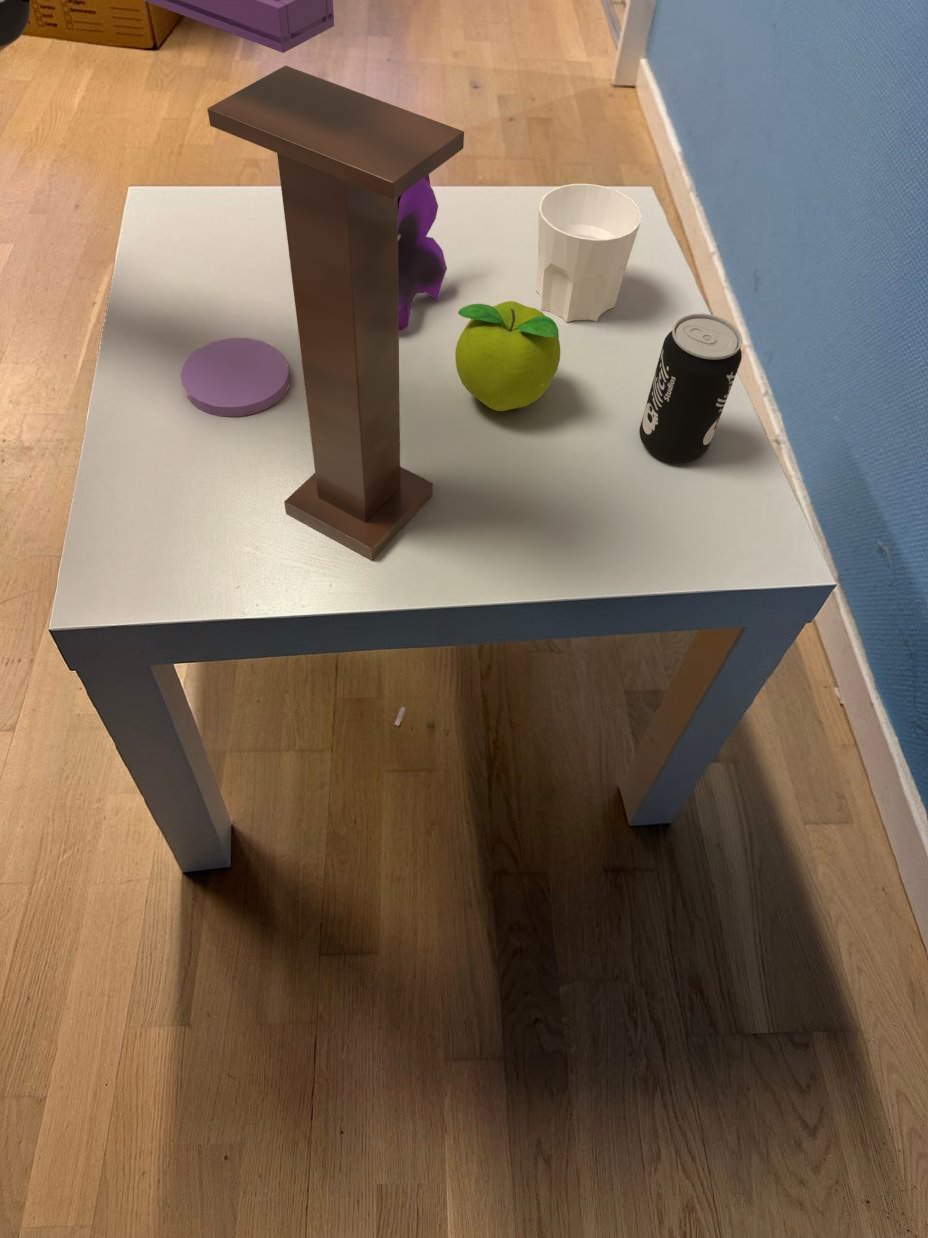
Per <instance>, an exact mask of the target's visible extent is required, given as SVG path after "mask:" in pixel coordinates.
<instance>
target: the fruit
mask: <svg viewBox="0 0 928 1238" xmlns="http://www.w3.org/2000/svg"><path fill="white" fill-rule="evenodd" d="M457 314H458V315H459V316H460V317H463V318H466V319H469V321H468V322H467V324H466V325H465V327H464V329H463V330H462V331H461V333H460V335H459V338H458V340H457V342H456V346H455V352H454V353H455V354H454V355H455V358H454V359H455V367H456V372H457V374H458V377H459V379H460V382H461V383H462V385H463V387H464V388H465V389H466V390H467V392H468V393H469V394H471V395H472V396H473V397H474V398H476V399H477V401H479V402H481V403H482V404H483V405H485V406H486V407H488V408H489V409H490V410H491V409H492V410H493V411H497V412H504V411H509V410H513V409H521V408H525V407H527V406H529V405H531V404H533V403H534V402H536V401H537V400H538V399H540V398H541V397H542V396H543V394H544V393H545V392H546V391H547V389H548V388H549V386H550V384H552V381H553V379H554V377H555V375H556V373H557V371H558V368H559V365H560V360H561V343H560V339H559V338H560V337H559V335H560V333H559V327H558V325H557V323H556V322H555V321H554V320H553V318H551V317H549V316H547V315H545V314H544V313H543V312H542V310H539V309H538V308H535V307H530V306H528V305H524V304H522V303H520V302H517V301H513V300H508V301H504V302H501V303H498V304H496V305H493V306H492V305H490V304H484V303H471V304H468V305H465V306H463V307H461V308H460V309H459V310H458V311H457Z"/></svg>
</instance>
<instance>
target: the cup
mask: <svg viewBox="0 0 928 1238" xmlns="http://www.w3.org/2000/svg"><path fill="white" fill-rule="evenodd" d="M641 212H642V211H641V210H640V207H639V206H638V205H637V203H636V202H635V201H634V200H633V199H632V198H631V197H629V196H628V195H626V194H625V193H623V192H621V191H618V190H616V189H614V188H612V187H607V186H603V185H599V184H593V183H592V184H591V183H571V184H565V185H561V186H558V187H556V188H553V189H551V190H550V191H548V192H547V193H545V194H544V195H543V196H542V197H541V199H540V201H539V205H538V230H537V232H538V235H537V236H538V238H537V239H538V240H537V248H538V249H537V251H538V252H537V263H536V264H537V267H536V284H535V285H536V286H535V292H536V293H537V294H538V295H539V296H540V298H541V306H540V311H546V312H549V313H552V314H554V315H556V316H557V317H560V318H562V320H564V322H565V323H570V322H572V321H592V322H598V321H599V317H600V316H602V314H604V313H605V312H606V311H608V310H611V309H614V308H615V306H616V303H617V299H618V296H619V293H620V289H621V287H622V283H623V280H624V276H625V272H626V270H627V266H628V263H629V259H630V257H631V253H632V250H633V247H634V244H635V241H636V238H637V234H638V231H639V228H640V225H641V222H642V213H641Z"/></svg>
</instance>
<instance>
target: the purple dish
mask: <svg viewBox="0 0 928 1238" xmlns="http://www.w3.org/2000/svg"><path fill="white" fill-rule="evenodd" d="M143 1H144V2H146V3H149V4H151V5H154V6H157V7H160V8H163V9H164V10H165V9H166V10H168V11H171V12H173V13H176V14H178V15H181V16H184V17H186V18H190V19H192V20H194V21H197V22H199V23H203V24H205V25H207V26H210V27H213V28H215V29H219V30H220V31H224V32H226V33H228V34H232V35H235V36H236V37H239V38H242V39H245V40H248V41H251V42H253V43H256V44H258V45H261V46H263V47H266V48H268V49H271V50H274V51H277V52H278V53H279V52H280V53H281V54H284V53H286V52H288V51H290V50H292V49H294V48H296V47H298V46H300V45H301V44H303V43H305V42H308V41H309V40H311V39H313V38H316V37H317V36H318V35H321V34H322V33H324V32H327V31H328V30H330V29H331V28H333V27H335V13H334V12H335V11H334V0H143Z"/></svg>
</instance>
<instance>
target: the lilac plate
mask: <svg viewBox="0 0 928 1238" xmlns="http://www.w3.org/2000/svg"><path fill="white" fill-rule="evenodd" d="M180 382H181V386H182V390H183V393H184V395H185V397H186V399H187V400H188V401H189V402H190V403H191V404H192V405H193V406H194V407H196V408H197V409H198V410H201V411H203V412H205V413H208V414H210V415H214V416H218V417H227V418H228V417H229V418H236V417H245V416H250V415H254V414H258V413H261V412H263V411H266V410H267V409H269V408H271V407H273V406H274V405H276V404H278V402H279V401H280V400H281V399H282V398H283V397H284V396H285V394H286V393H287V391H288V389H289V386H290V383H291V373H290V368H289V363H288V360H287V359H286V356H285V355H284V354H283V353H282V352H281V351H280V350H279V349H278V348H276V346H273V345H271V344H270V343H267V342H266V341H262V340H259V339H254V338H247V337H232V338H231V337H230V338H222V339H219V340H215V341H213V342H209V343H207V344H204V345H203V346H201V347H199V348H197V349H196V350H195V351H194V352H192V353H191V354H190V355H189V356H188V357H187V358H186V360H185V361H184V363H183V364H182V367H181V371H180Z"/></svg>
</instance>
